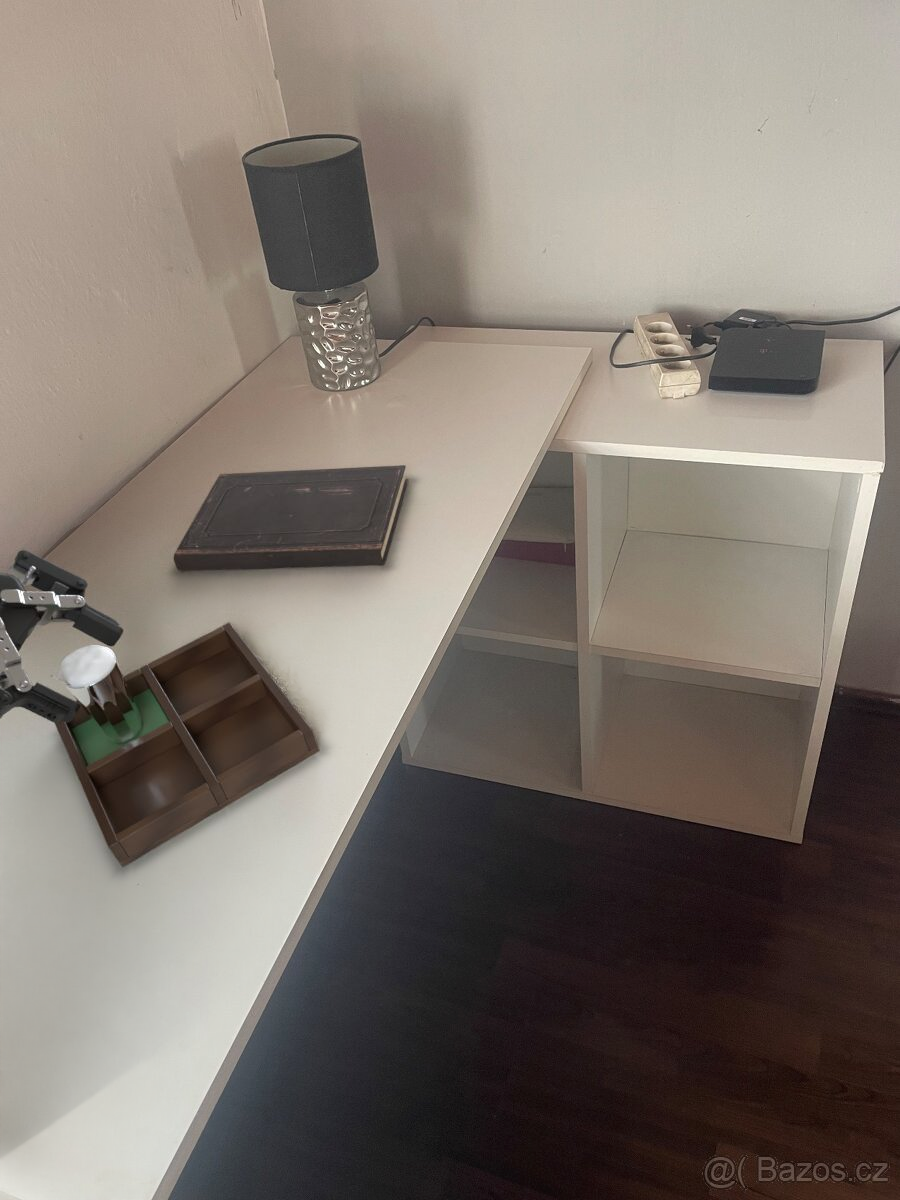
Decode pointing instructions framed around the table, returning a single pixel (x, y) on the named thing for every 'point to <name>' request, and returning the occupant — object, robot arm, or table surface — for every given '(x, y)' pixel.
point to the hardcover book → (295, 519)
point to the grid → (187, 743)
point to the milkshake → (101, 691)
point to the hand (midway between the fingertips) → (98, 674)
